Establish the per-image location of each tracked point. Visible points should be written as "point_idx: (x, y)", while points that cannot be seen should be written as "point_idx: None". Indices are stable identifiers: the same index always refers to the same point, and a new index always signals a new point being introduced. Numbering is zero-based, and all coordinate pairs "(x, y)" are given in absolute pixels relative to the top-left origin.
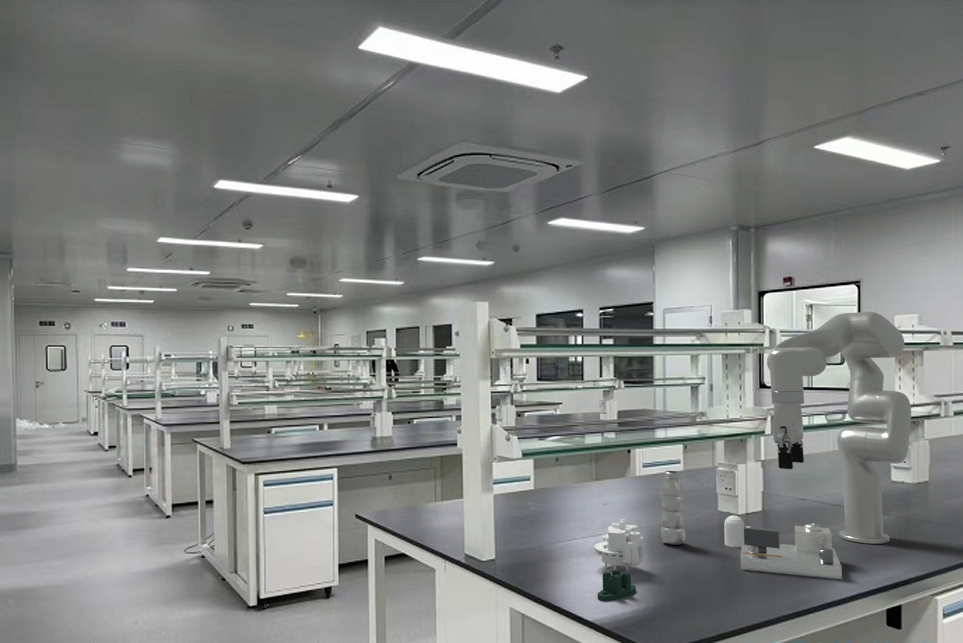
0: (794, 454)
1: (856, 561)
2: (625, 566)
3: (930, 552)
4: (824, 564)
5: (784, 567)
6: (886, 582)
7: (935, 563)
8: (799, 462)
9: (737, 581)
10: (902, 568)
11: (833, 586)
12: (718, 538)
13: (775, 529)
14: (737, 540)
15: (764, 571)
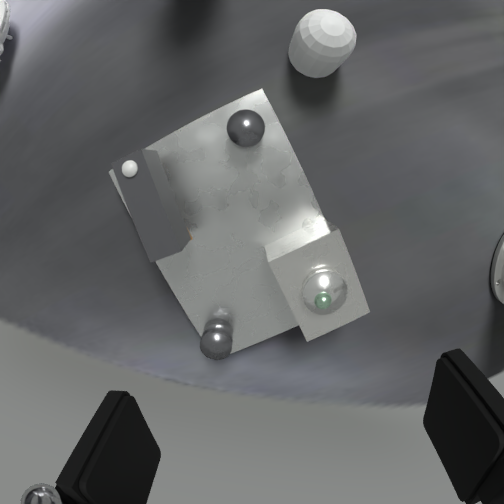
0: (458, 424)
1: (368, 318)
2: (9, 39)
3: (478, 363)
4: (202, 332)
5: None
6: (262, 393)
7: (423, 393)
8: (429, 404)
9: (56, 209)
10: (368, 381)
11: (166, 345)
12: (337, 8)
13: (171, 242)
14: (298, 63)
15: None
